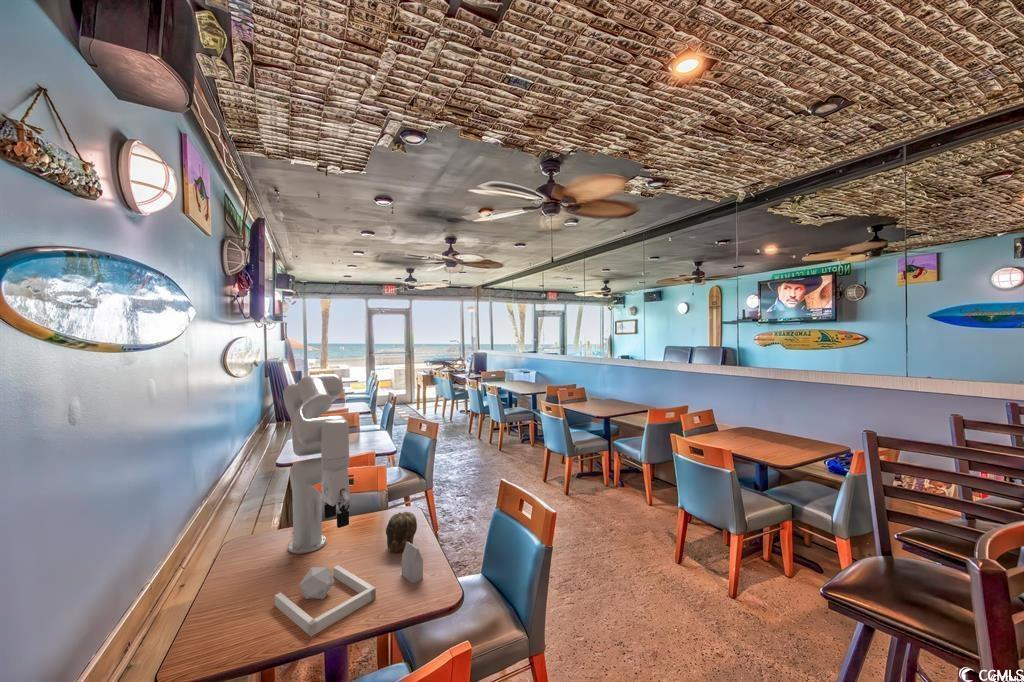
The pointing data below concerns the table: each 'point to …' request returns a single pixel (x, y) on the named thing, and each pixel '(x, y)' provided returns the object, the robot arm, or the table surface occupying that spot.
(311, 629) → the bay
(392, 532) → the shell
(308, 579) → the die
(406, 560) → the grey faceted angular block
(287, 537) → the table surface
